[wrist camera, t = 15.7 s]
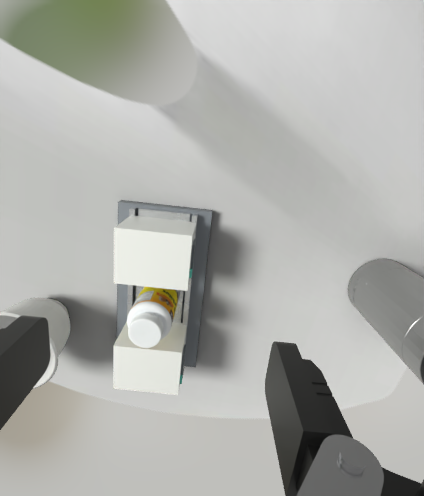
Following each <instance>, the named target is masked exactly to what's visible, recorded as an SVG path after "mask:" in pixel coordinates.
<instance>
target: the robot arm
mask: <svg viewBox="0 0 424 496" xmlns="http://www.w3.org/2000/svg"><path fill="white" fill-rule="evenodd" d="M348 296H349V299H350V301H351V303H352V304H353V305H354V307H355V308H356V309H357V310H358V311H359V312H360V313H361V314H362V316H363V317H364V318H365V319H366V320H367V321H368V322H369V324H370V325H371V326H372V327H373V328H374V329H375V330H376V331H377V333H378V334H379V335H380V336H381V337H382V338H383V339H384V340H385V342H386V343H387V344H388V345H389V346H390V347H391V348H392V349H393V351H394V352H395V353H396V354H397V355H398V356H399V357H400V358H401V360H402V361H403V362H404V363H405V364H406V365H407V366H408V367H409V369H411V371H412V372H413V373H414V374H415V375H416V376H417V377H418V378H419V380H420V381H421V382H422V383H423V384H424V278H423V277H421V276H420V275H418V274H416V273H415V272H413V271H411V270H410V269H408V268H406V267H405V266H403V265H401V264H400V263H398V262H396V261H393V260H390V259H377V260H373V261H370V262H368V263H366V264H364V265H363V266H361V267H360V268H359V269H358V270H357V271H356V272H355V273H354V274H353V276H352V277H351V279H350V282H349V285H348ZM50 356H51V353H50V339H49V326H48V320H47V319H46V318H45V317H35V316H25V315H22V316H20V317H18V318H17V319H16V320H15V321H14V322H12V323H11V324H10V325H9V326H8V327H6V328H2V329H0V430H1V428H2V427H3V426H4V425H5V423H6V422H7V421H8V419H9V418H10V417H11V416H12V414H13V413H14V412H15V411H16V409H17V408H18V407H19V405H20V404H21V403H22V402H23V400H24V399H25V398H26V396H27V395H28V394H29V393H30V391H31V390H32V389H33V387H34V386H35V385H36V384H37V382H38V381H39V380H40V379H41V377H42V376H43V375H44V373H45V372H46V370H47V368H48V365H49V362H50ZM265 394H266V400H267V405H268V410H269V415H270V420H271V425H272V430H273V434H274V440H275V445H276V450H277V455H278V460H279V465H280V469H281V475H282V480H283V485H284V489H285V495H286V496H424V480H423V482H422V484H420V483H418V482H416V481H413V480H410V479H408V478H405V477H403V476H400V475H398V474H395V473H393V472H390V471H388V470H386V469H384V468H382V467H381V465H380V463H379V461H378V460H377V458H376V457H375V456H374V454H373V453H372V452H371V451H370V450H369V449H368V448H367V447H365V446H364V445H363V444H361V443H360V442H359V441H357V440H355V439H353V437H352V435H351V433H350V431H349V429H348V426H347V424H346V422H345V420H344V418H343V416H342V414H341V412H340V409H339V407H338V405H337V403H336V401H335V399H334V397H332V393H331V390H330V388H329V386H327V382H326V380H325V378H324V376H323V374H322V372H321V370H320V369H319V368H318V367H317V366H316V365H315V364H314V363H313V362H312V361H311V360H305V359H302V357H301V355H300V352H299V350H298V348H297V345H296V344H294V343H284V342H273V344H272V348H271V353H270V358H269V363H268V368H267V373H266V379H265Z"/></svg>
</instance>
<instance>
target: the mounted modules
mask: <svg viewBox="0 0 424 496" xmlns="http://www.w3.org/2000/svg"><path fill="white" fill-rule="evenodd" d="M195 231H196V223H191V222H189V221H180V220H171V219H162V218H152V217H143V216H135V217H134V216H129V217H128V218H126V219H125V220H124V221H122V222H121V223H120V224H118V225H117V226H115V227H114V283H116V284H125V285H135V286H145V287H154V288H164V289H174V290H183V291H188V286H189V282H190V278H191V277H192V273H193V267H194V256H195V246H196V239H195ZM186 328H187V326H185V325H183V323H178V322H172V326H171V329H170V331H169V333H168V334H167V336H166V337H164V338H163V339H161V340H160V341H159V343H158V344H157V345H155V346H153V347H150V348H142V347H139V346H137V345H135V344H134V343H133V342H132V341H131V340H130V338H129V336H128V329H129V328H128V326H127V321H126V323H125V325H124V327H123V329H122V331H121V333H120V335H119V336H118V338H117V340H116V342H115V344H114V346H113V389H122V390H132V391H142V392H152V393H162V394H172V395H178V393H179V387H180V384H182V378H183V371H184V363H185V352H186V345H185V339H186Z"/></svg>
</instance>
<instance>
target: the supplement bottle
mask: <svg viewBox="0 0 424 496" xmlns="http://www.w3.org/2000/svg"><path fill="white" fill-rule="evenodd" d="M178 298H179V296H178V291H177V290H174V289H164V288H154V287H145V286H144V287H143V289H142V290H141V292H140V294H139V296H138V297H137V299H136V301H135V303H134V304H133V306H132V308H131V310H130V312H129V314H128V317H127V326H128V328H129V329H128V336H129V338H130V340H131V341H132V342H133V343H134V344H135V345H137V346H139V347H142V348H150V347H153V346H155V345H157V344H158V343H159V341H160V340H161V339H163V338H164V337H166V336H167V334H168V333H169V331H170V329H171V326H172V322H173V318H174V315H175V311H176V307H177V303H178Z"/></svg>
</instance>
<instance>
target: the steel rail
mask: <svg viewBox="0 0 424 496" xmlns="http://www.w3.org/2000/svg"><path fill="white" fill-rule="evenodd" d="M129 216H134V217H135V216H137V207H131V208H130V209H129ZM138 216H143V217H152V218H162V219H171V220H180V221H189V222H190V213H183V212H174V211H164V210H155V209H146V208H139V209H138ZM197 218H198V214H192V222H191V223H196V228H197ZM195 239H196V231H195ZM191 282H192V277H191V278H190V282H189V286H188V291H185V302H184V313H183V325H185V326H187V325H188V314H189V304H190V293H191ZM143 287H144V286H136V299H137V297H138V296H139V294H140V292H141V290H142V289H143ZM177 291H178V296H179V298H178V303H177V307H176V311H175V315H174V318H173V322H178V323H181V316H182V305H183V293H184V291H183V290H177ZM134 301H135V285H128V304H127V317H128V314H129V312H130V310H131V308H132V306H133V304H134ZM186 336H187V328H186ZM185 345H186V339H185Z"/></svg>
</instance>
